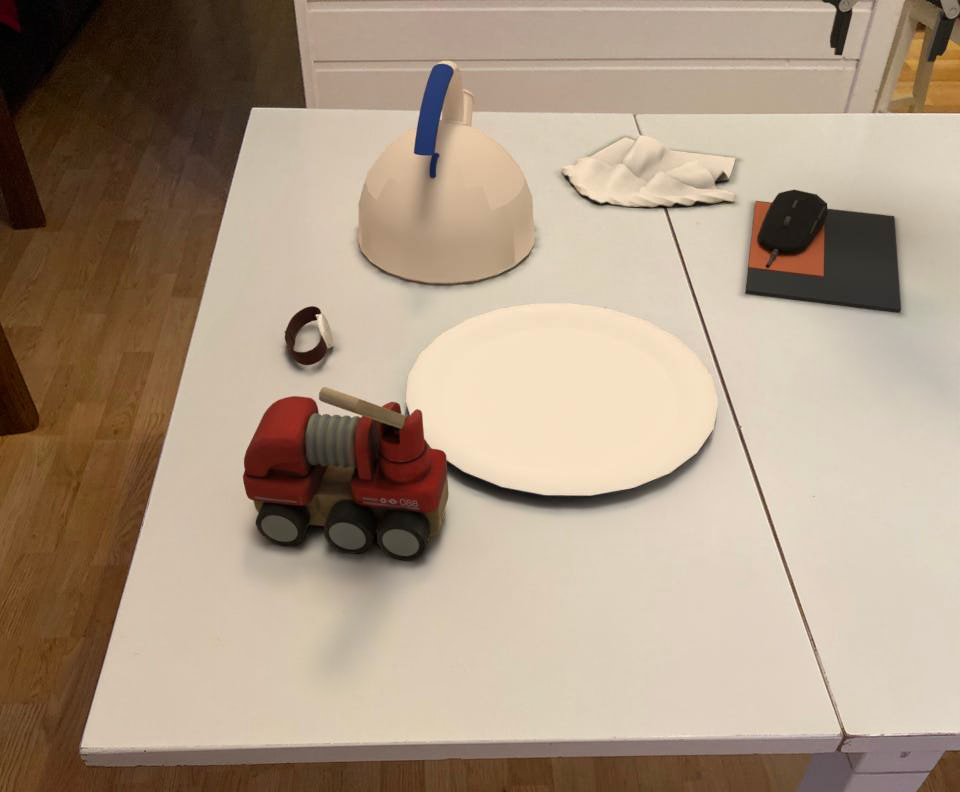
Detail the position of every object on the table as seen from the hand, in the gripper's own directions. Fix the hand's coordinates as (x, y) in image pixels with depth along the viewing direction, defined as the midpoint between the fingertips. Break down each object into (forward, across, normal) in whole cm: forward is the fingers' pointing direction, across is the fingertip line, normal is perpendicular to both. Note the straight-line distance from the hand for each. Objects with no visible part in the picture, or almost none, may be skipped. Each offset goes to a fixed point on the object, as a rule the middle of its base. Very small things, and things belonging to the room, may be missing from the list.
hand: (883, 55), depth 93 cm
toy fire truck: (+20, -38, -55) cm, 70 cm away
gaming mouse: (+20, -5, +1) cm, 20 cm away
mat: (+20, -1, -1) cm, 20 cm away
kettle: (+19, -43, -7) cm, 47 cm away
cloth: (+20, -21, +13) cm, 32 cm away
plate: (+20, -24, -34) cm, 46 cm away
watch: (+19, -50, -31) cm, 62 cm away
